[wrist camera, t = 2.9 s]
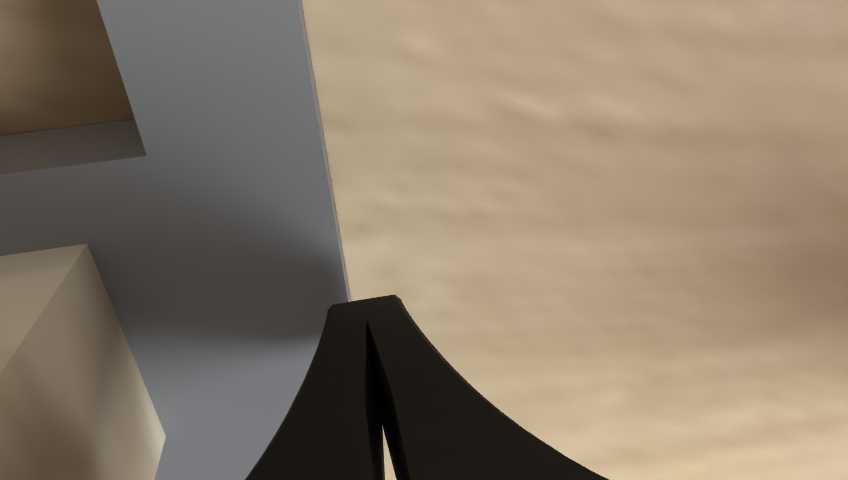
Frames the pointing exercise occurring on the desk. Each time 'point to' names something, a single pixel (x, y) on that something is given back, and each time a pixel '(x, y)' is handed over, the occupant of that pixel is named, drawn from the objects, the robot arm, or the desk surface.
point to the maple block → (69, 376)
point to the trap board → (198, 217)
